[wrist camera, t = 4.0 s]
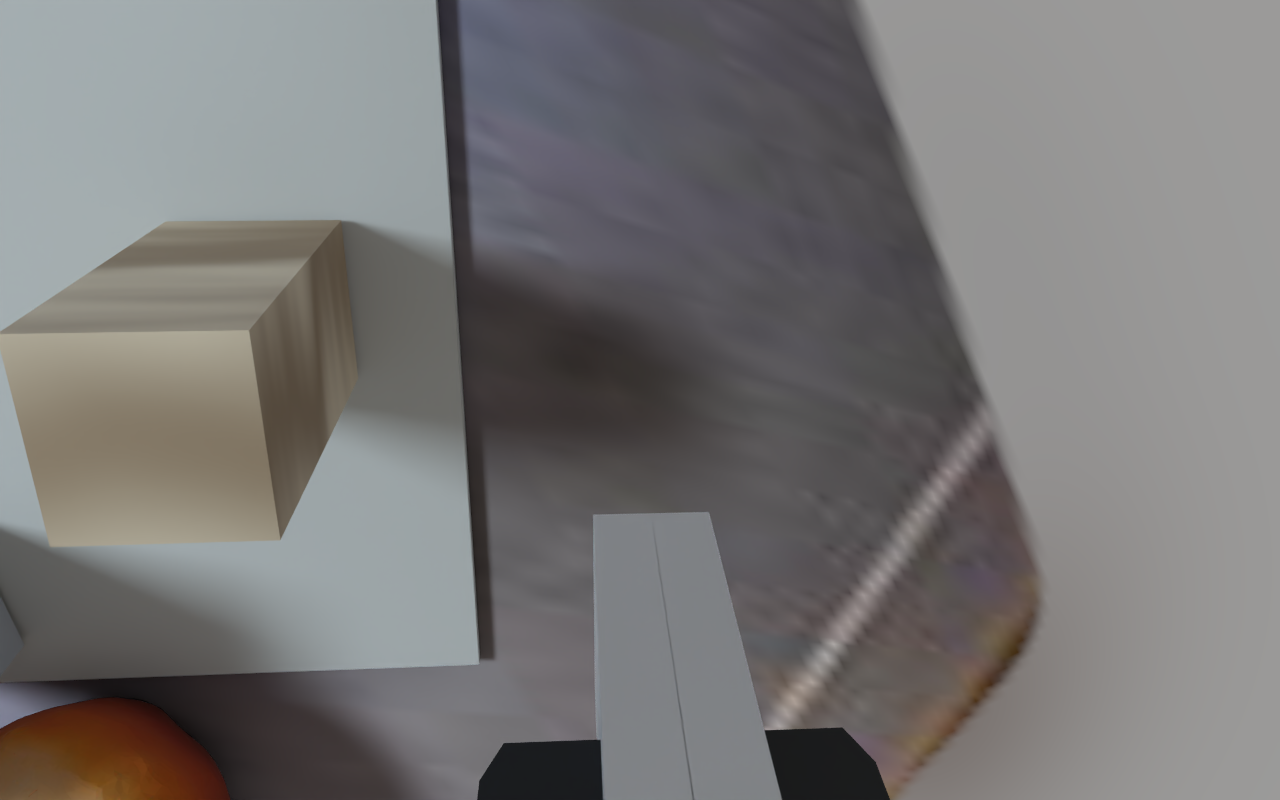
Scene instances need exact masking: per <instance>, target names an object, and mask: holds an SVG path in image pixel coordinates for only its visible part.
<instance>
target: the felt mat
mask: <svg viewBox="0 0 1280 800" xmlns="http://www.w3.org/2000/svg"><path fill="white" fill-rule="evenodd" d="M285 220H341V223H342V232H343V241H344V251H345V260H346V269H347V279H348V288H349V297H350V307H351V316H352V325H353V334H354V344H355V353H356V362H357V372H358V380H357V382H356V384H355V386H354V388H353V390H352V392H351V394H350V397H349V399H348V401H347V403H346V405H345V407H344V409H343V411H342V413H341V415H340V417H339V419H338V422H337V424H336V426H335V428H334V430H333V432H332V434H331V436H330V438H329V440H328V442H327V444H326V446H325V449H324V451H323V453H322V455H321V457H320V459H319V461H318V463H317V465H316V467H315V469H314V471H313V474H312V476H311V478H310V480H309V482H308V484H307V486H306V488H305V490H304V492H303V494H302V496H301V499H300V501H299V503H298V505H297V507H296V509H295V511H294V513H293V515H292V517H291V519H290V521H289V523H288V526H287V528H286V530H285V532H284V534H283V536H282V538H281V540H276V541H242V542H208V543H174V544H140V545H106V546H72V547H50V545H49V541H48V537H47V533H46V529H45V525H44V521H43V517H42V513H41V509H40V505H39V501H38V497H37V494H36V490H35V486H34V482H33V478H32V474H31V470H30V466H29V462H28V458H27V454H26V450H25V446H24V442H23V438H22V434H21V430H20V426H19V422H18V418H17V414H16V410H15V406H14V402H13V398H12V394H11V390H10V386H9V382H8V378H7V374H6V371H5V367H4V363H3V359H2V355H1V351H0V597H1V599H2V601H3V603H4V605H5V607H6V609H7V611H8V613H9V615H10V617H11V619H12V621H13V623H14V625H15V627H16V629H17V631H18V633H19V635H20V637H21V639H22V641H23V643H24V646H23V648H22V649H21V650H20V651H19V653H18V654H17V655H16V657H15V658H14V659H13V660H12V662H11V663H10V664H9V666H8V667H7V668H6V669H5V671H4V672H3V673H2V675H1V676H0V683H7V682H33V681H60V680H86V679H112V678H139V677H165V676H191V675H218V674H244V673H270V672H297V671H323V670H349V669H376V668H402V667H428V666H455V665H479V661H480V648H479V632H478V617H477V601H476V586H475V570H474V555H473V539H472V524H471V508H470V493H469V477H468V462H467V446H466V431H465V415H464V400H463V384H462V369H461V353H460V338H459V322H458V307H457V291H456V276H455V260H454V245H453V229H452V214H451V198H450V183H449V167H448V152H447V136H446V121H445V105H444V90H443V74H442V59H441V43H440V28H439V12H438V0H0V331H2V330H3V329H5V328H6V327H8V326H9V325H11V324H12V323H14V322H15V321H17V320H18V319H20V318H21V317H23V316H24V315H26V314H27V313H29V312H30V311H32V310H33V309H35V308H36V307H38V306H39V305H41V304H42V303H44V302H45V301H47V300H48V299H50V298H51V297H53V296H54V295H56V294H57V293H59V292H60V291H62V290H63V289H65V288H66V287H68V286H69V285H71V284H72V283H74V282H75V281H77V280H78V279H80V278H81V277H83V276H84V275H86V274H87V273H89V272H90V271H92V270H93V269H95V268H96V267H98V266H99V265H101V264H102V263H104V262H105V261H107V260H108V259H110V258H111V257H113V256H114V255H116V254H117V253H119V252H120V251H122V250H123V249H125V248H126V247H128V246H129V245H131V244H132V243H134V242H135V241H137V240H138V239H140V238H141V237H143V236H144V235H146V234H147V233H149V232H150V231H152V230H153V229H155V228H156V227H158V226H159V225H161V224H162V223H164V222H166V221H285Z"/></svg>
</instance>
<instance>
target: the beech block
mask: <svg viewBox="0 0 1280 800" xmlns="http://www.w3.org/2000/svg"><path fill="white" fill-rule="evenodd" d="M0 351H1V355H2V359H3V363H4V367H5V371H6V374H7V378H8V382H9V386H10V390H11V394H12V398H13V402H14V406H15V410H16V414H17V418H18V422H19V426H20V430H21V434H22V438H23V442H24V446H25V450H26V454H27V458H28V462H29V466H30V470H31V474H32V478H33V482H34V486H35V490H36V494H37V497H38V501H39V505H40V509H41V513H42V517H43V521H44V525H45V529H46V533H47V537H48V541H49V545H50V547H72V546H106V545H140V544H174V543H208V542H242V541H276V540H281V538H282V536H283V534H284V532H285V530H286V528H287V526H288V523H289V521H290V519H291V517H292V515H293V513H294V511H295V509H296V507H297V505H298V503H299V501H300V499H301V496H302V494H303V492H304V490H305V488H306V486H307V484H308V482H309V480H310V478H311V476H312V474H313V471H314V469H315V467H316V465H317V463H318V461H319V459H320V457H321V455H322V453H323V451H324V449H325V446H326V444H327V442H328V440H329V438H330V436H331V434H332V432H333V430H334V428H335V426H336V424H337V422H338V419H339V417H340V415H341V413H342V411H343V409H344V407H345V405H346V403H347V401H348V399H349V397H350V394H351V392H352V390H353V388H354V386H355V384H356V382H357V380H358V372H357V362H356V353H355V344H354V334H353V325H352V316H351V307H350V297H349V288H348V279H347V269H346V260H345V251H344V241H343V232H342V223H341V220H285V221H166V222H164V223H162V224H161V225H159V226H158V227H156V228H155V229H153V230H152V231H150V232H149V233H147V234H146V235H144V236H143V237H141V238H140V239H138V240H137V241H135V242H134V243H132V244H131V245H129V246H128V247H126V248H125V249H123V250H122V251H120V252H119V253H117V254H116V255H114V256H113V257H111V258H110V259H108V260H107V261H105V262H104V263H102V264H101V265H99V266H98V267H96V268H95V269H93V270H92V271H90V272H89V273H87V274H86V275H84V276H83V277H81V278H80V279H78V280H77V281H75V282H74V283H72V284H71V285H69V286H68V287H66V288H65V289H63V290H62V291H60V292H59V293H57V294H56V295H54V296H53V297H51V298H50V299H48V300H47V301H45V302H44V303H42V304H41V305H39V306H38V307H36V308H35V309H33V310H32V311H30V312H29V313H27V314H26V315H24V316H23V317H21V318H20V319H18V320H17V321H15V322H14V323H12V324H11V325H9V326H8V327H6V328H5V329H3V330H2V331H0Z"/></svg>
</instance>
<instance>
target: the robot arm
mask: <svg viewBox="0 0 1280 800" xmlns="http://www.w3.org/2000/svg"><path fill="white" fill-rule="evenodd" d="M593 552H594V640H595V701H596V730H597V740H579V741H552V742H525V743H504V744H503V745H502V747H501V749H500V750H499V752H498V753H497V755H496V756H495V758H494V759H493V761H492V762H491V764H490V765H489V767H488V768H487V770H486V772H485V773H484V775H483V776H482V778H481V779H480V781H479V790H478V799H477V800H890V799H889V796H888V793H887V791H886V788H885V786H884V783H883V780H882V778H881V775H880V773H879V770H878V767H877V765H876V762H875V761H874V760H873V759H872V758H871V757H870V756H869V755H868V754H867V753H866V752H865V751H864V750H863V749H862V747H861V746H860V745H859V744H858V743H857V742H856V741H855V740H854V739H853V738H852V737H851V736H850V735H849V734H848V733H847V732H846V731H845V730H844V729H843V728H819V729H792V730H764V727H763V723H762V719H761V715H760V711H759V707H758V703H757V699H756V695H755V692H754V688H753V684H752V680H751V676H750V672H749V668H748V664H747V660H746V656H745V652H744V648H743V644H742V640H741V636H740V633H739V629H738V625H737V621H736V617H735V613H734V609H733V605H732V601H731V597H730V593H729V589H728V585H727V581H726V577H725V573H724V570H723V566H722V562H721V558H720V554H719V550H718V546H717V542H716V538H715V534H714V530H713V526H712V522H711V518H710V514H709V512H688V513H645V514H603V515H593Z"/></svg>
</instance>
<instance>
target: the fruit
mask: <svg viewBox="0 0 1280 800" xmlns="http://www.w3.org/2000/svg"><path fill="white" fill-rule="evenodd" d="M0 800H231V798H230V796H229V793H228V790H227V787H226V784H225V781H224V778H223V777H222V775H221V772H220V770H219V768H218V767H217V765H216V763H215V761H214V760H213V758H212V757H211V756H210V754H209V753H208V752H207V750H206V749H205V748H204V747H203V746H202V745H200V744H199V743H198V742H197V741H196V740H194V739H193V738H192V737H191V736H190V735H188V734H187V733H186V732H185V731H184V730H183V729H181V728H180V727H179V726H178V725H177V724H176V723H175V722H174V721H173V720H172V719H171V718H170V717H169V716H168V715H167V714H166V713H165V712H164V711H163V710H161V709H160V708H158V707H157V706H155V705H153V704H150V703H147V702H143V701H140V700H133V699H124V698H117V697H109V698H97V699H92V700H87V701H82V702H77V703H72V704H68V705H63V706H58V707H54V708H50V709H47V710H43V711H40V712H37V713H34V714H31V715H28V716H25V717H23V718H20V719H18V720H16V721H14V722H12V723H10V724H8V725H6V726H4V727H3V728H1V729H0Z"/></svg>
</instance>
